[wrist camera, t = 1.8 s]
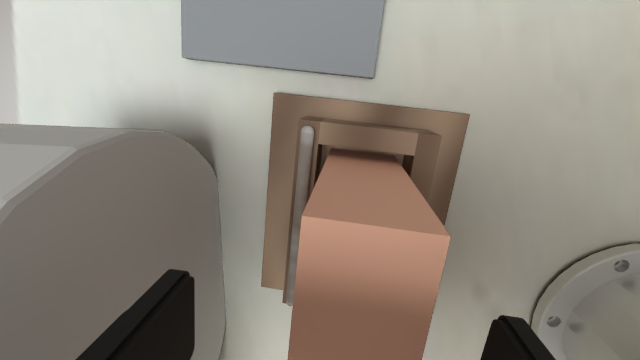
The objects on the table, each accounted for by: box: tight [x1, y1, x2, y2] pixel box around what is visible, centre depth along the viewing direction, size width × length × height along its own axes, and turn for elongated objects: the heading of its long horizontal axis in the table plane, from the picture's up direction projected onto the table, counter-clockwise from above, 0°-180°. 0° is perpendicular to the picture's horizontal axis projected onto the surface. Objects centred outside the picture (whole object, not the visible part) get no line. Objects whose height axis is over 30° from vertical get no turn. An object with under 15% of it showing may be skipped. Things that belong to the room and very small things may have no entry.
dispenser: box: [261, 93, 470, 306], centre depth 20 cm, size 12×14×5 cm
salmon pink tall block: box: [288, 148, 451, 360], centre depth 15 cm, size 4×8×12 cm, turn 174°
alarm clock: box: [0, 124, 226, 360], centre depth 15 cm, size 21×8×20 cm, turn 178°
